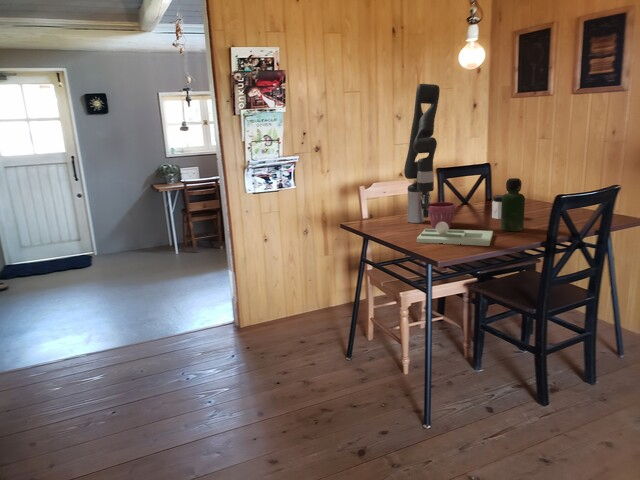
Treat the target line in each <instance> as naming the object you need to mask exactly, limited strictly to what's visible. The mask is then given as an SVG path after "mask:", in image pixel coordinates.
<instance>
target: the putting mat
mask: <svg viewBox="0 0 640 480" xmlns="http://www.w3.org/2000/svg"><path fill="white" fill-rule="evenodd" d="M493 235H494V231H493V230H476V229H475V230H474V229H473V230H472V229H448V232H447V233H445V234H439V233H438V232H437V231H436V229H432V228H424V229H423V231H422V232H421V233H420V234H419V235H418V236H417V237H416V243H417V244H418V243H423V244H439V243H443V244H444V245H460V244H461V245H463V246H469V245H470V246H484V247H488V246H489V247H490V245H491V241H492V240H493V239H492V238H493ZM443 244H442V245H443ZM461 245H460V246H461Z"/></svg>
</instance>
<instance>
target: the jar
mask: <svg viewBox="0 0 640 480" xmlns="http://www.w3.org/2000/svg"><path fill="white" fill-rule="evenodd" d="M503 195H504V194H495V195H493V197H492V202H491V203H492V204H491V210H492V211H491V218H492V219H496V220H501V207H502V196H503Z"/></svg>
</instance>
